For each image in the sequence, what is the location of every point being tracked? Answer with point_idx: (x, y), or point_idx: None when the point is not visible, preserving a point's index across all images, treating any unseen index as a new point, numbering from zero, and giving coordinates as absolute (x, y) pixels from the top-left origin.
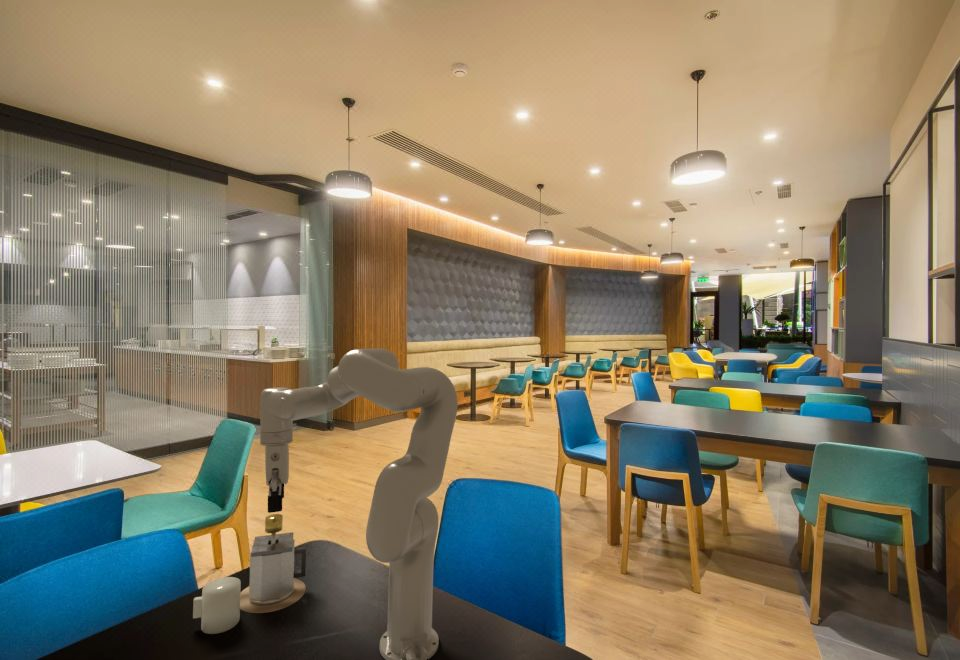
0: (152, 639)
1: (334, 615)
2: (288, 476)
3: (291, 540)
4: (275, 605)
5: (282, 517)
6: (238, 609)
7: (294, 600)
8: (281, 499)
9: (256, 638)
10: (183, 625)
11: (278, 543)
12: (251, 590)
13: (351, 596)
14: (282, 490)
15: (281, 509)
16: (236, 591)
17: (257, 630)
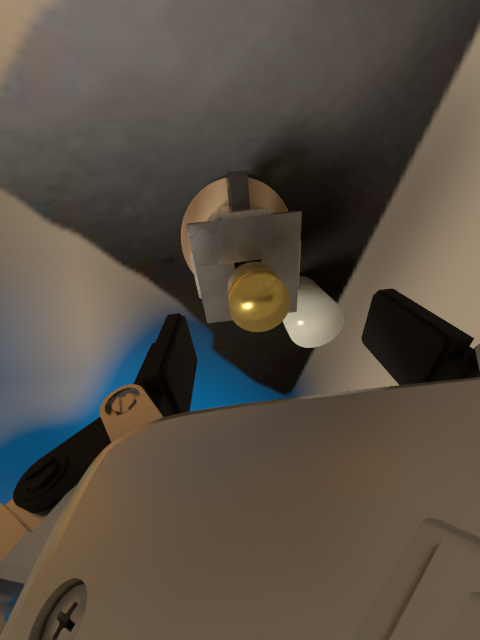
0: (294, 353)
1: (338, 94)
2: (363, 424)
3: (250, 222)
4: None
5: (260, 275)
6: (311, 284)
7: (271, 196)
8: (439, 322)
9: (342, 243)
10: (278, 335)
11: (261, 258)
12: None
13: (277, 37)
14: (177, 344)
15: (392, 292)
16: (331, 299)
17: (324, 246)
